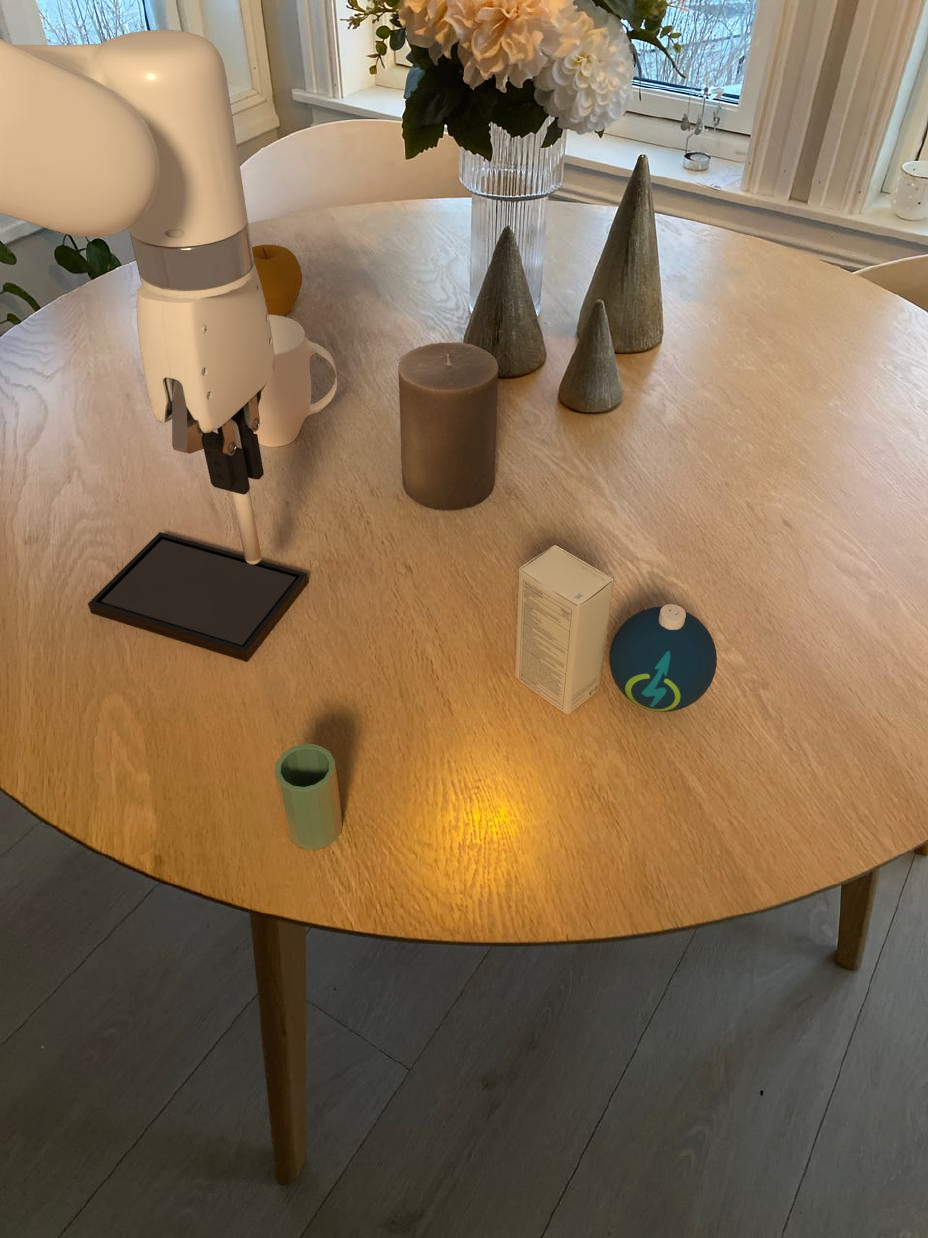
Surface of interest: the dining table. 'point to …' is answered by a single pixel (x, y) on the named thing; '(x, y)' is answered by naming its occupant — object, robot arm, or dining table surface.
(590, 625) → the cosmetic box
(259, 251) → the apple
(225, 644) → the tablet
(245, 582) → the screen
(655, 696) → the christmas ornament
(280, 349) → the mug
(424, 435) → the pillar candle
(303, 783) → the pen pot
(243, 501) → the stylus
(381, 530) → the dining table surface
